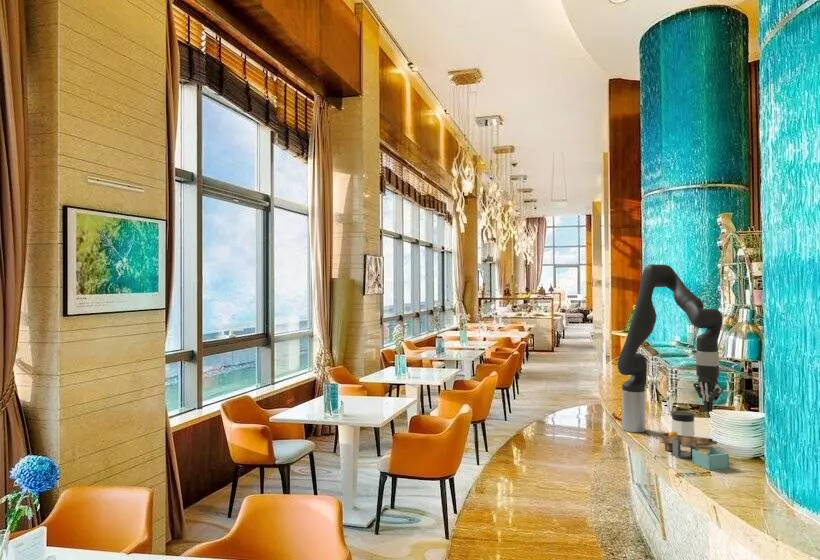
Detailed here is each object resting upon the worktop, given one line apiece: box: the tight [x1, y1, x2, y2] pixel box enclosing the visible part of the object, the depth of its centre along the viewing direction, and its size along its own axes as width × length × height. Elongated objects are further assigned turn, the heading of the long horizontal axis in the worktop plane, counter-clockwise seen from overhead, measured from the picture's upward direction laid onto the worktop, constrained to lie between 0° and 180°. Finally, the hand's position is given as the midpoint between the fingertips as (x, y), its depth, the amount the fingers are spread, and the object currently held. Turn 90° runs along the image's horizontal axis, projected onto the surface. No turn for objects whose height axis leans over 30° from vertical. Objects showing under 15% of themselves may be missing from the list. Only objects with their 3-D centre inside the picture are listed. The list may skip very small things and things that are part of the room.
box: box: [691, 446, 730, 471], centre depth 216 cm, size 9×8×5 cm
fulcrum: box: [670, 438, 699, 460], centre depth 228 cm, size 5×9×6 cm, turn 105°
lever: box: [661, 432, 718, 452], centre depth 229 cm, size 18×10×6 cm, turn 15°
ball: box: [668, 430, 678, 437], centre depth 235 cm, size 3×3×3 cm
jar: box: [671, 410, 696, 437], centre depth 246 cm, size 9×8×12 cm
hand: (708, 411), depth 224 cm, fingers closed
